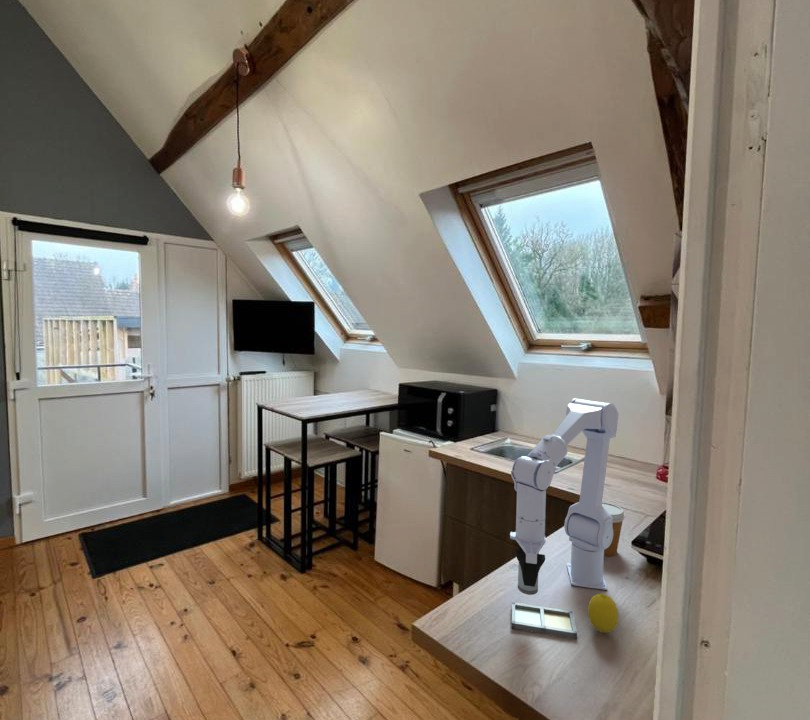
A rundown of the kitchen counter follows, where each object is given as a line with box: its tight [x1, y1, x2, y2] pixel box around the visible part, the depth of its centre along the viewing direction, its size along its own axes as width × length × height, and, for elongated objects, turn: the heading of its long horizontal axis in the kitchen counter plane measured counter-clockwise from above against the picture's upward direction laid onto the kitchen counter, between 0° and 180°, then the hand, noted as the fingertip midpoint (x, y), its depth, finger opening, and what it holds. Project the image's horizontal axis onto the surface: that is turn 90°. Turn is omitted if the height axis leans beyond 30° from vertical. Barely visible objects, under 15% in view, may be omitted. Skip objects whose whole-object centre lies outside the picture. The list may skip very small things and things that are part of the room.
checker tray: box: [511, 602, 578, 640], centre depth 90 cm, size 7×12×1 cm, turn 76°
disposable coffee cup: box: [602, 501, 626, 557], centre depth 119 cm, size 10×10×12 cm
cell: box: [517, 562, 539, 596], centre depth 90 cm, size 4×4×7 cm
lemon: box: [587, 593, 619, 634], centre depth 87 cm, size 6×6×8 cm
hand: (528, 578), depth 90 cm, fingers closed on cell, 4 cm apart
